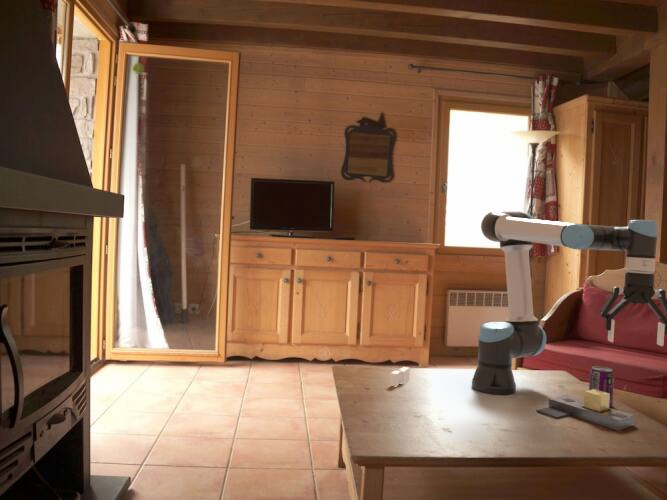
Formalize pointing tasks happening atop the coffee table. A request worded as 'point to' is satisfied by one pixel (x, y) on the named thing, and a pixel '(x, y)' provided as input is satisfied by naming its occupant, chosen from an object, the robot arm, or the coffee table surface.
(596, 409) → the yellow rectangular block
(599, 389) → the beverage can
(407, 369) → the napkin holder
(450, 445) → the coffee table surface
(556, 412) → the rubber mat
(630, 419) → the rack rail
